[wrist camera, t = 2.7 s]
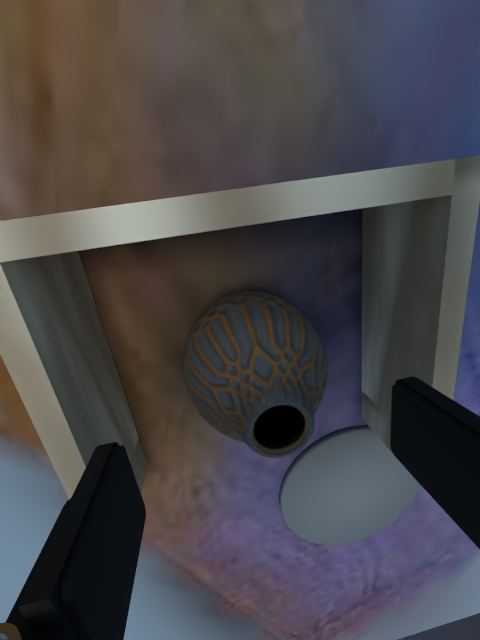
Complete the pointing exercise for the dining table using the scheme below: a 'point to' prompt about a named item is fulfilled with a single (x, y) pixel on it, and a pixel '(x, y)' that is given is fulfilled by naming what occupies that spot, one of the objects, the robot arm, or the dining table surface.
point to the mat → (345, 488)
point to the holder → (221, 213)
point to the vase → (256, 371)
